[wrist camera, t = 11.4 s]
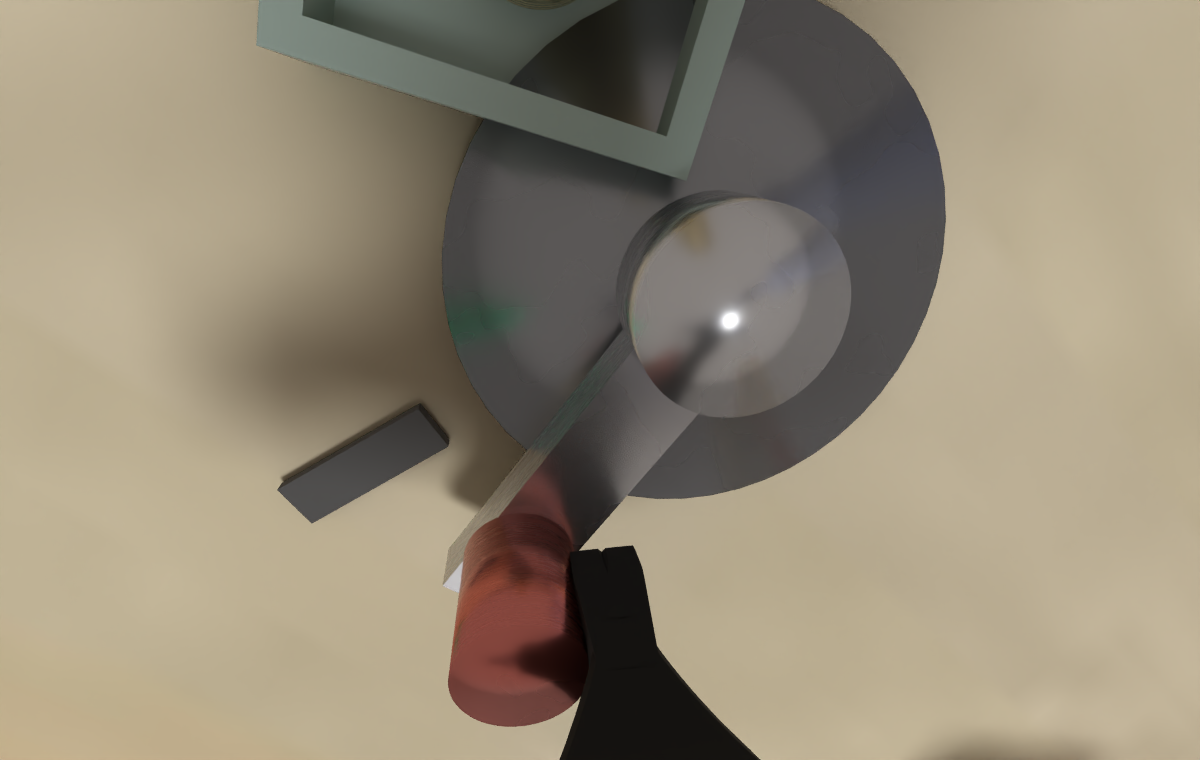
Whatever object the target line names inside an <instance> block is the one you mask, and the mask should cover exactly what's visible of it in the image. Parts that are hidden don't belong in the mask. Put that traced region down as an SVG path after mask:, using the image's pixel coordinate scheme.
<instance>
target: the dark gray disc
mask: <svg viewBox="0 0 1200 760" xmlns="http://www.w3.org/2000/svg"><path fill="white" fill-rule="evenodd" d="M695 2H696V0H618V1H616V2H614V3H612V4H610V5H608V6H606V7H604V8H602V9H601V10H599V11H597V12H595V13H593V14H591V15H589V16H587V17H585V18H583V19H582V20H580V21H578V22H577V23H576V24H574V25H573V26H572V27H570V28H569V29H567V30H566V31H565V32H563V33H562V34H561V35H559V36H558V37H557V38H555V39H554V40H552V41H551V42H550V43H548V44H547V45H546V46H545V47H544V48H543V49H542V50H541V51H540V52H539V53H537V54H536V55H535V56H534V57H533V58H532V59H531V60H530V61H529V62H528V63H527V64H526V65H525V66H524V67H523V68H522V69H521V70H520V71H519V72H518V73H517V74H516V75H515V76H514V78H513V79H512V80H511V82H510V83H509V84H510V85H513V86H516V87H519V88H522V89H525V90H528V91H531V92H534V93H537V94H540V95H543V96H546V97H549V98H552V99H555V100H558V101H561V102H564V103H567V104H570V105H573V106H576V107H579V108H582V109H585V110H588V111H591V112H594V113H597V114H600V115H603V116H606V117H610V118H613V119H616V120H619V121H622V122H625V123H628V124H631V125H634V126H637V127H640V128H643V129H646V130H649V131H652V132H655V133H656V132H657V129H658V125H659V122H660V119H661V115H662V112H663V109H664V105H665V102H666V99H667V95H668V92H669V89H670V85H671V82H672V79H673V75H674V72H675V69H676V65H677V62H678V58H679V55H680V52H681V48H682V45H683V42H684V38H685V35H686V32H687V28H688V25H689V22H690V18H691V15H692V12H693V8H694V5H695ZM711 190H726V191H734V192H738V193H743V194H747V195H751V196H755V197H759V198H763V199H767V200H771V201H775V202H779V203H783V204H787V205H790V206H793V207H795V208H798V209H800V210H802V211H804V212H806V213H808V214H809V215H811V216H813V217H814V218H815V219H816V220H818V221H819V222H820V223H821V224H823V225H824V226H825V227H826V229H827V230H828V231H829V232H830V233H831V234H832V235H833V237H834V238H835V240H836V241H837V243H838V244H839V246H840V248H841V250H842V252H843V255H844V257H845V259H846V262H847V266H848V270H849V274H850V281H851V305H850V313H849V317H848V321H847V325H846V329H845V331H844V334H843V336H842V339H841V341H840V343H839V345H838V347H837V349H836V351H835V353H834V355H833V356H832V358H831V359H830V361H829V362H828V364H827V365H826V366H825V368H824V369H823V370H822V371H821V372H820V374H819V375H818V376H817V377H816V378H815V379H814V380H813V381H812V382H811V383H810V384H809V385H808V386H807V387H805V388H804V389H803V390H802V391H800V392H799V393H798V394H797V395H795V396H793V397H792V398H790V399H789V400H787V401H786V402H784V403H782V404H780V405H778V406H776V407H774V408H771V409H769V410H766V411H763V412H760V413H757V414H753V415H749V416H742V417H734V418H719V417H712V416H706V415H702V414H698V415H697V416H696V417H695V418H694V419H693V420H692V422H691V423H690V424H689V425H688V426H687V427H686V429H685V430H684V431H683V432H682V433H681V434H680V435H679V437H678V438H677V439H676V440H675V441H674V442H673V443H672V445H671V446H670V447H669V448H668V449H667V450H666V451H665V453H664V454H663V455H662V456H661V457H660V458H659V459H658V461H657V462H656V463H655V464H654V465H653V466H652V467H651V469H650V470H649V471H648V472H647V473H646V474H645V475H644V477H643V478H642V479H641V480H640V481H639V482H638V483H637V485H636V486H635V487H634V488H633V489H632V490H631V491H630V493H629V494H628V496H636V497H645V498H655V499H681V498H692V497H700V496H709V495H714V494H718V493H723V492H727V491H731V490H736V489H739V488H742V487H745V486H748V485H751V484H754V483H757V482H760V481H762V480H765V479H767V478H769V477H772V476H774V475H776V474H778V473H780V472H782V471H784V470H787V469H789V468H791V467H792V466H794V465H796V464H797V463H799V462H801V461H802V460H804V459H806V458H807V457H809V456H811V455H812V454H814V453H816V452H817V451H818V450H820V449H821V448H822V447H824V446H825V445H826V444H828V443H829V442H830V441H832V440H833V439H834V438H836V437H837V436H838V435H840V434H841V433H842V432H843V431H844V430H845V429H846V428H847V427H848V426H849V425H851V424H852V423H853V422H854V421H855V420H856V419H857V418H858V417H859V416H860V415H861V414H862V413H863V412H864V411H865V410H866V409H867V408H868V406H869V405H870V404H871V403H872V402H873V401H874V400H875V399H876V398H877V396H878V395H879V394H880V393H881V392H882V390H883V389H884V387H885V386H886V385H887V383H888V382H889V381H890V379H891V378H892V377H893V375H894V374H895V372H896V371H897V370H898V368H899V366H900V365H901V363H902V361H903V360H904V358H905V356H906V354H907V353H908V351H909V349H910V348H911V346H912V344H913V343H914V340H915V338H916V336H917V334H918V331H919V329H920V327H921V325H922V323H923V320H924V318H925V316H926V314H927V311H928V308H929V305H930V301H931V298H932V295H933V292H934V289H935V286H936V283H937V278H938V273H939V268H940V263H941V259H942V254H943V245H944V233H945V222H946V214H945V187H944V181H943V175H942V169H941V163H940V157H939V152H938V149H937V146H936V142H935V139H934V136H933V133H932V130H931V126H930V123H929V120H928V118H927V116H926V114H925V112H924V110H923V108H922V106H921V104H920V102H919V100H918V97H917V95H916V93H915V91H914V89H913V88H912V87H911V85H910V84H909V82H908V81H907V79H906V78H905V76H904V75H903V73H902V72H901V70H900V69H899V67H898V66H897V64H896V63H895V62H894V61H893V59H892V58H891V57H890V56H889V55H888V54H887V53H886V52H885V51H884V50H883V49H882V48H881V47H880V46H879V45H878V44H877V42H876V41H875V40H874V39H873V38H872V37H871V36H870V35H868V34H867V33H866V32H864V31H863V30H862V29H861V28H859V27H858V26H857V25H855V24H854V23H853V22H851V21H850V20H849V19H847V18H846V17H845V16H844V15H842V14H840V13H839V12H837V11H835V10H833V9H831V8H829V7H827V6H825V5H823V4H821V3H820V2H818V1H816V0H745V3H744V6H743V9H742V12H741V15H740V18H739V21H738V24H737V27H736V30H735V33H734V37H733V40H732V43H731V46H730V49H729V52H728V55H727V58H726V61H725V64H724V67H723V70H722V73H721V76H720V80H719V83H718V86H717V89H716V92H715V95H714V98H713V101H712V104H711V107H710V110H709V113H708V116H707V119H706V122H705V126H704V129H703V132H702V135H701V138H700V141H699V144H698V147H697V150H696V153H695V156H694V159H693V162H692V165H691V168H690V172H689V175H688V178H687V181H685V180H681V179H677V178H673V177H670V176H667V175H664V174H661V173H657V172H654V171H651V170H648V169H645V168H642V167H638V166H635V165H632V164H629V163H626V162H622V161H619V160H616V159H613V158H610V157H607V156H603V155H600V154H597V153H594V152H591V151H588V150H584V149H581V148H578V147H575V146H572V145H569V144H565V143H562V142H559V141H556V140H553V139H549V138H546V137H543V136H540V135H537V134H534V133H530V132H527V131H524V130H521V129H518V128H515V127H511V126H508V125H505V124H502V123H499V122H495V121H492V120H489V119H486V118H484V120H483V122H482V123H481V125H480V127H479V129H478V130H477V132H476V134H475V136H474V137H473V139H472V141H471V143H470V145H469V148H468V150H467V153H466V155H465V158H464V160H463V163H462V165H461V167H460V170H459V172H458V175H457V177H456V180H455V184H454V188H453V192H452V196H451V200H450V204H449V208H448V212H447V216H446V223H445V232H444V241H443V250H442V274H443V293H444V300H445V306H446V312H447V318H448V324H449V327H450V331H451V334H452V337H453V340H454V344H455V347H456V350H457V354H458V356H459V358H460V361H461V363H462V365H463V367H464V369H465V371H466V374H467V376H468V378H469V380H470V382H471V384H472V386H473V387H474V389H475V390H476V392H477V394H478V395H479V397H480V398H481V400H482V401H483V403H484V405H485V406H486V408H487V409H488V411H489V412H490V413H491V414H492V415H493V416H494V418H495V419H496V420H497V421H498V422H499V423H500V425H501V426H502V427H503V428H504V429H505V431H506V432H507V433H508V434H509V435H511V436H512V437H513V438H514V439H515V440H516V441H517V442H518V443H519V444H521V445H522V446H523V447H524V448H525V449H526V450H528V449H529V447H530V446H531V445H532V443H533V442H534V441H535V440H536V438H537V437H538V436H539V435H540V433H541V432H542V431H543V430H544V428H545V427H546V426H547V425H548V423H549V422H550V421H551V419H552V418H553V417H554V416H555V414H556V413H557V412H558V411H559V409H560V408H561V407H562V406H563V404H564V403H565V402H566V401H567V399H568V398H569V397H570V395H571V394H572V393H573V392H574V390H575V389H576V388H577V387H578V385H579V384H580V383H581V382H582V380H583V379H584V378H585V377H586V375H587V374H588V373H589V372H590V370H591V369H592V368H593V366H594V365H595V364H596V363H597V361H598V360H599V359H600V358H601V356H602V355H603V354H604V353H605V351H606V350H607V349H608V348H609V346H610V345H611V344H612V342H613V341H614V340H615V339H616V337H617V336H618V335H619V334H620V332H621V331H622V330H623V328H622V326H621V323H620V320H619V317H618V311H617V306H616V283H617V277H618V272H619V267H620V265H621V262H622V259H623V256H624V254H625V252H626V250H627V248H628V246H629V244H630V242H631V241H632V239H633V238H634V236H635V235H636V233H637V232H638V231H639V229H640V228H641V227H642V226H643V225H644V224H645V222H646V221H647V220H649V219H650V218H651V217H652V216H653V215H654V214H655V213H656V212H658V211H659V210H661V209H662V208H663V207H665V206H666V205H668V204H670V203H672V202H674V201H675V200H677V199H679V198H682V197H685V196H687V195H690V194H693V193H698V192H703V191H711Z"/></svg>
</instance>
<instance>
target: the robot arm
mask: <svg viewBox="0 0 1200 760" xmlns="http://www.w3.org/2000/svg"><path fill="white" fill-rule="evenodd" d="M570 560H571V569H572V578H573V586H574V591H575V595H576V600H577V605H578V610H579V615H580V619H581V624H582V630H583V635H584V640H585V645H586V650H587V655H588V664H589V670H588V673H587V677H586V681H585V685H584V688H583V692H582V695H581V698H580V702H579V705H578V708H577V712H576V715H575V717H574V720H573V723H572V726H571V729H570V732H569V735H568V738H567V741H566V744H565V747H564V749H563V752H562V755H561V757H560V760H760V759H759V758H758V757H757V756H756V755H755V754H754V753H753V752H752V751H751V750H750V749H749V748H748V747H747V746H746V745H745V744H743V743H742V742H741V741H740V740H739V739H738V738H737V737H736V736H735V735H734V734H733V733H732V732H731V731H730V730H729V729H728V728H727V727H726V726H725V725H724V724H723V723H722V722H721V721H720V720H719V719H718V718H717V717H716V716H715V715H714V714H713V713H712V712H711V711H710V709H709V708H708V707H707V706H706V705H705V704H704V703H703V702H702V701H701V700H700V699H699V698H698V696H697V695H696V694H695V693H694V692H693V691H692V689H691V688H690V687H689V686H688V685H687V684H686V683H685V681H684V680H683V679H682V678H681V677H680V675H679V674H678V673H677V672H676V670H675V669H674V668H673V667H672V665H671V664H670V663H669V662H668V660H667V659H666V658H665V656H664V655H663V654H662V652H661V651H660V650H659V648H658V647H657V644H656V639H655V633H654V628H653V622H652V617H651V611H650V606H649V600H648V595H647V590H646V584H645V579H644V574H643V569H642V566H641V563H640V561H639V558H638V556H637V553H636V551H635V549H634V546H633V545H632V546H622V547H612V548H605V549H604V550H603V551H602V552H601V551H600V550H598V549H592V550H582V551H572V552H570Z"/></svg>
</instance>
